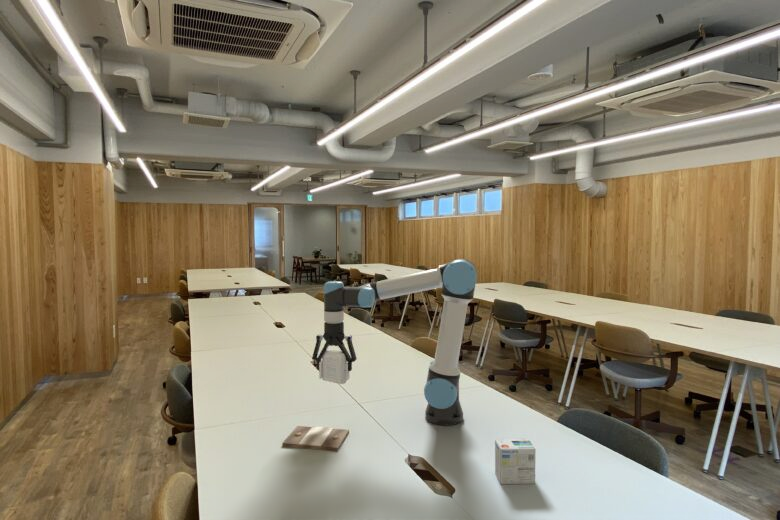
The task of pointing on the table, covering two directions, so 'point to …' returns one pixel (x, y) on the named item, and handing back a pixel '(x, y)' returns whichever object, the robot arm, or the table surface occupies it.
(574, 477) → the table surface
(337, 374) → the photo printer
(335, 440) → the board
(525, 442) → the light bulb box
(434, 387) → the robot arm
